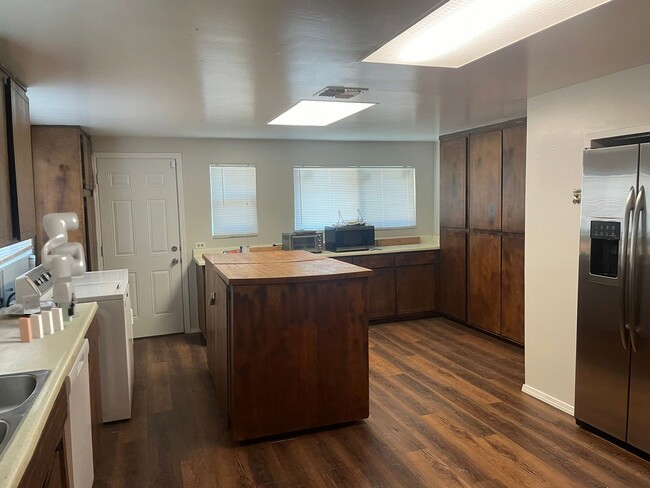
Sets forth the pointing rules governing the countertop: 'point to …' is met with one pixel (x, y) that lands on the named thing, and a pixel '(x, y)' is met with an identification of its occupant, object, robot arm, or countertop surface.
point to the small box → (30, 301)
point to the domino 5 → (65, 312)
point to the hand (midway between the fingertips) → (66, 315)
